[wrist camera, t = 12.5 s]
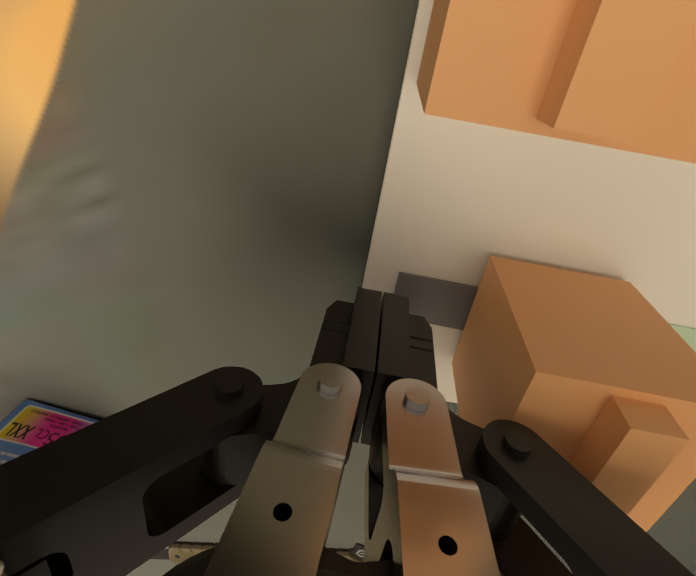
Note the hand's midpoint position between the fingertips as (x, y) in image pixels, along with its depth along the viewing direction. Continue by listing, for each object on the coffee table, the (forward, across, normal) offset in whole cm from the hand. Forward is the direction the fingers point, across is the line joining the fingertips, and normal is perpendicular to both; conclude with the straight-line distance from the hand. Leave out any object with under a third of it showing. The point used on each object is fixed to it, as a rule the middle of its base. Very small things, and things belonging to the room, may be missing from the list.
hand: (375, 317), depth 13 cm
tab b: (+1, -5, 0) cm, 5 cm away
